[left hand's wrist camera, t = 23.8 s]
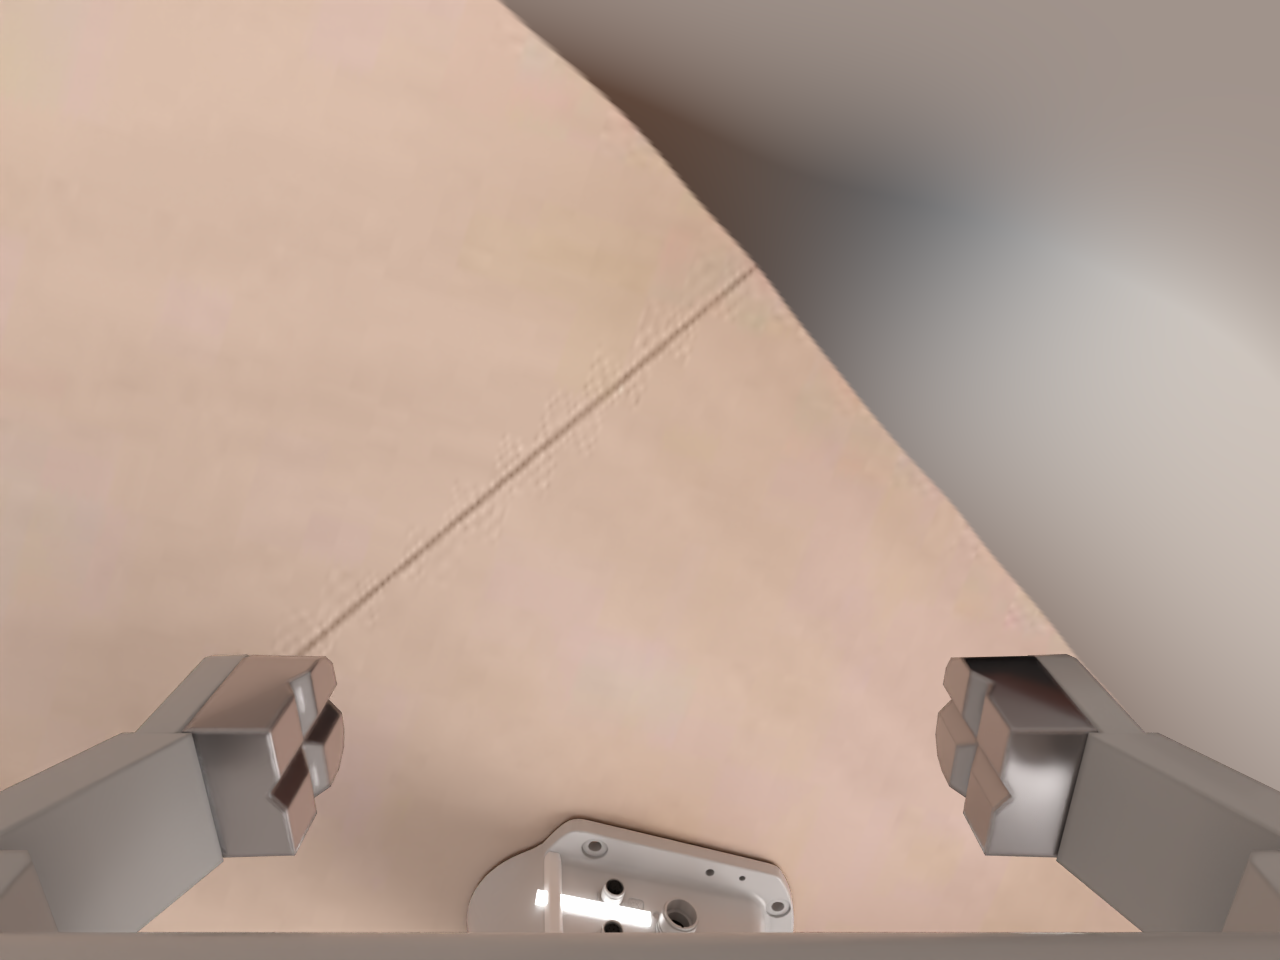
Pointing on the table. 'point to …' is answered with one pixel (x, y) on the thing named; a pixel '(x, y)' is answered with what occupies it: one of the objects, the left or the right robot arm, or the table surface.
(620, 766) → the table surface
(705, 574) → the table surface
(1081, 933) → the left robot arm
